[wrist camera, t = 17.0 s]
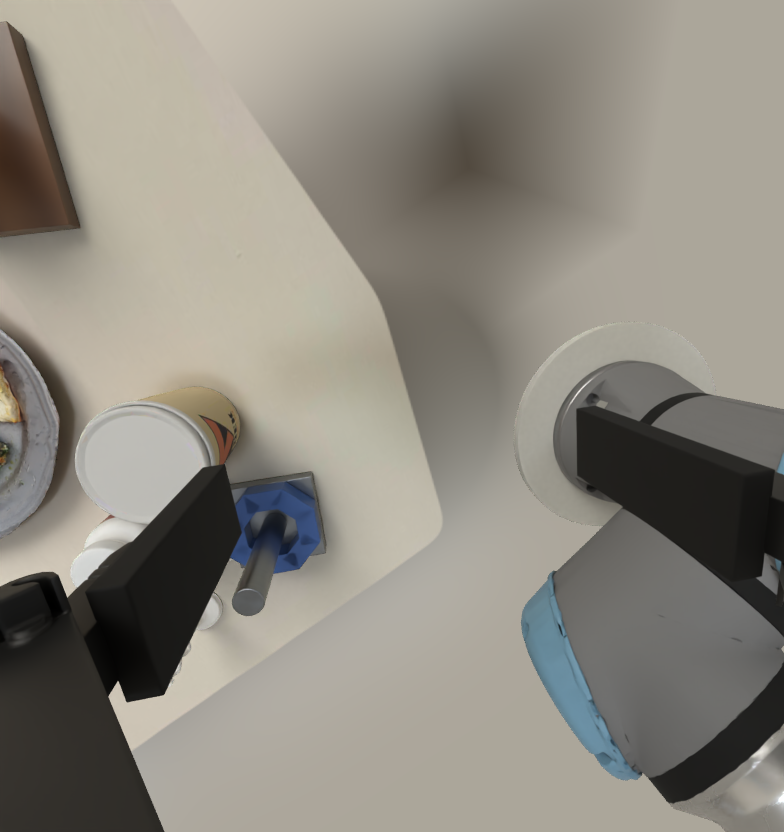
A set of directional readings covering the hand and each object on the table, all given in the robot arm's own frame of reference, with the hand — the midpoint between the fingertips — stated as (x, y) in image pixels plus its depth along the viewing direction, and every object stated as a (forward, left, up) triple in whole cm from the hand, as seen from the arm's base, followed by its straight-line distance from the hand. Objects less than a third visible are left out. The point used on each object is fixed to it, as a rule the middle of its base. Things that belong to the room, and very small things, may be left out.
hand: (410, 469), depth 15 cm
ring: (+12, +14, -25) cm, 31 cm away
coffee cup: (+17, +3, -27) cm, 32 cm away
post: (+12, +14, -27) cm, 32 cm away
